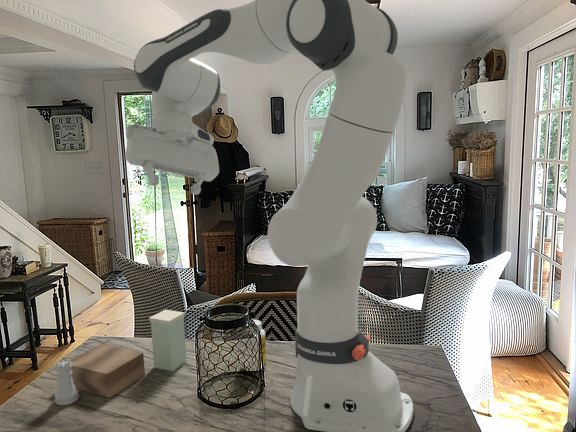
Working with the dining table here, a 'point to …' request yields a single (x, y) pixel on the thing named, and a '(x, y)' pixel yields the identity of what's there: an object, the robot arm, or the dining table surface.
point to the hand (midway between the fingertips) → (175, 188)
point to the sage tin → (168, 339)
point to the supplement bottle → (262, 340)
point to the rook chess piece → (65, 384)
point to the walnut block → (107, 369)
